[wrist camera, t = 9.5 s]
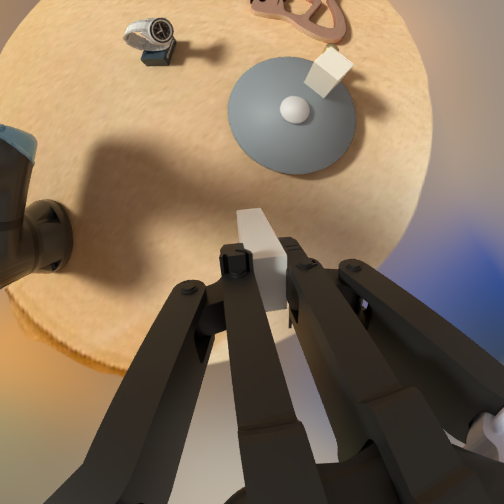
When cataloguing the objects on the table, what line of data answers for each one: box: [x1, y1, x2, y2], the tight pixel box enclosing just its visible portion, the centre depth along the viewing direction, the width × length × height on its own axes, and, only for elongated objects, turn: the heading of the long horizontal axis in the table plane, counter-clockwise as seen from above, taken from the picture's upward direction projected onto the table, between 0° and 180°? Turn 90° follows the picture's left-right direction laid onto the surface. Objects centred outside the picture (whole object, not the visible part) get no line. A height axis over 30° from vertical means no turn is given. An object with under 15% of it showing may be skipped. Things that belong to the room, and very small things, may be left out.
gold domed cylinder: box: [322, 44, 339, 54], centre depth 34 cm, size 2×2×7 cm
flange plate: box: [228, 47, 356, 174], centre depth 33 cm, size 24×20×9 cm
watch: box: [123, 18, 176, 66], centre depth 31 cm, size 6×8×11 cm
